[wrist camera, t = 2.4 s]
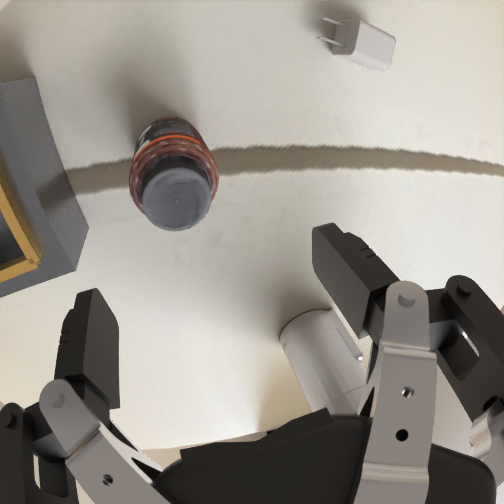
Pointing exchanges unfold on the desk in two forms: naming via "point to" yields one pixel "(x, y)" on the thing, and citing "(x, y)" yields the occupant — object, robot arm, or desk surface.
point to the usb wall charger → (362, 43)
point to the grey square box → (33, 195)
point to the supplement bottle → (173, 175)
